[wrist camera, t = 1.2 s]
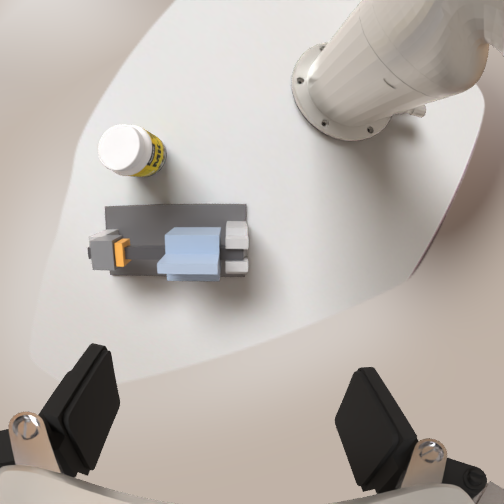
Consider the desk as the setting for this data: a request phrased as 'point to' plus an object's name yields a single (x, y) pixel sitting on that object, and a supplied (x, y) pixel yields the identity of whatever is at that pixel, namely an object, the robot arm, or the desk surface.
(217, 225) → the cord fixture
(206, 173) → the desk surface
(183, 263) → the light blue step block
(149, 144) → the supplement bottle
